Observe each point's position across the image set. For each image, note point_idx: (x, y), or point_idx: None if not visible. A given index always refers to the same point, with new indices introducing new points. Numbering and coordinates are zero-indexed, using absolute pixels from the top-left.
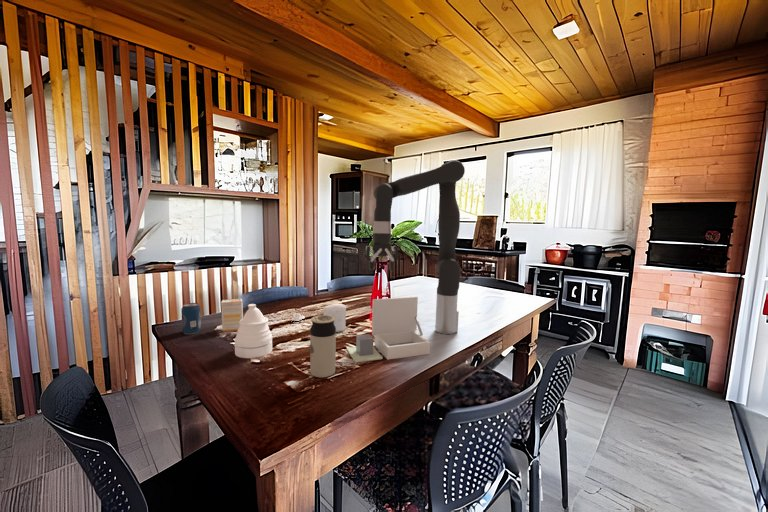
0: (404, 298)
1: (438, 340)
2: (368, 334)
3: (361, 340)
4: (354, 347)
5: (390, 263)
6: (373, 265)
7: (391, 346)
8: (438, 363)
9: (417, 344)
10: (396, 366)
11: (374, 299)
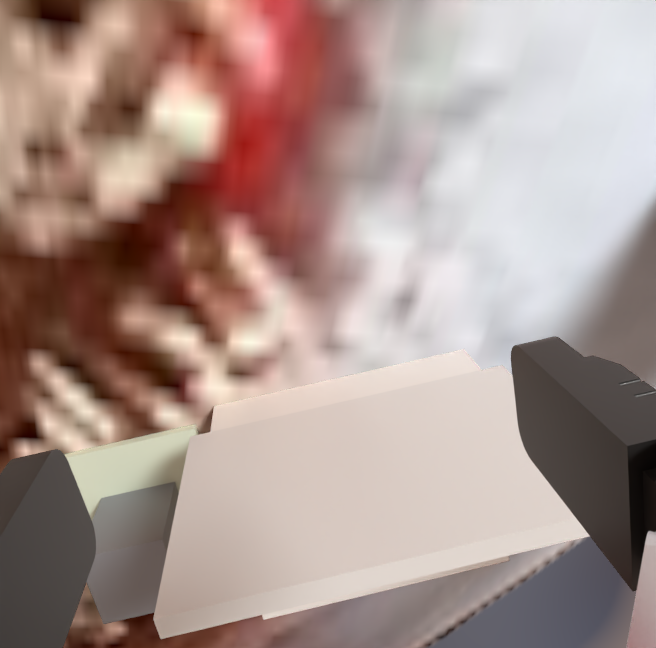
0: (489, 555)
1: (614, 348)
2: (156, 548)
3: (112, 617)
4: (89, 455)
5: (597, 518)
6: (62, 645)
7: (285, 610)
8: (485, 607)
9: (433, 575)
10: (293, 631)
11: (171, 618)
